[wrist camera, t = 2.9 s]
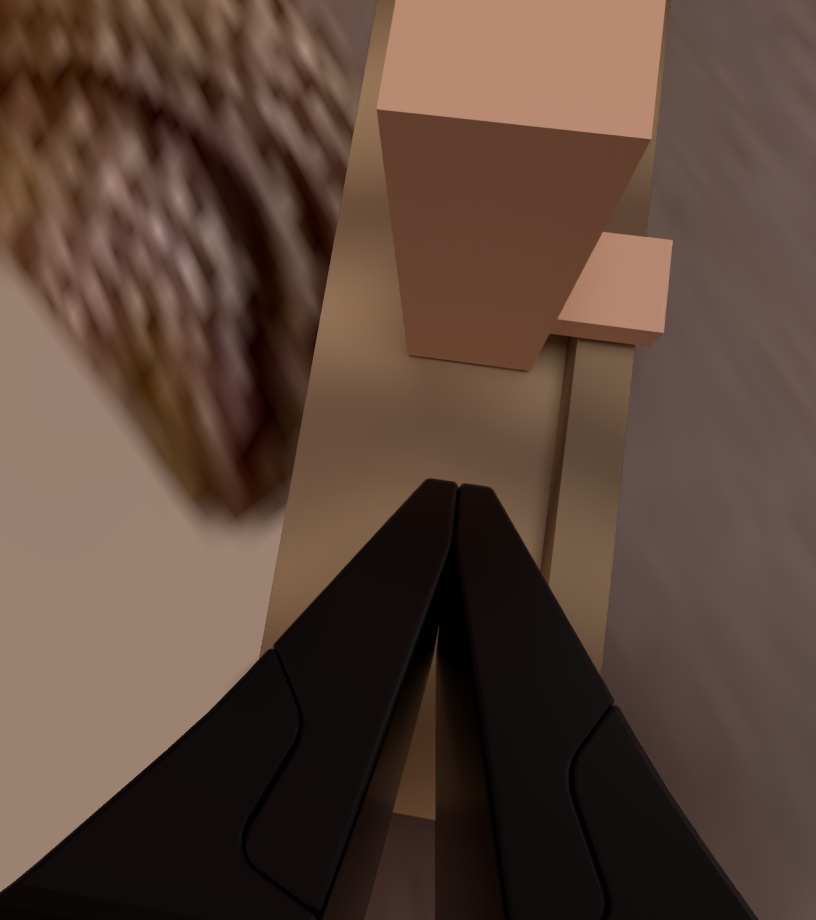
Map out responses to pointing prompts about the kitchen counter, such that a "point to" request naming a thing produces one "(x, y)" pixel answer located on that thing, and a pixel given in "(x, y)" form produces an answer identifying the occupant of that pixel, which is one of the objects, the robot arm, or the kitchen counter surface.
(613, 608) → the kitchen counter surface
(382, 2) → the trammel board
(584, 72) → the block
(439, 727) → the robot arm
